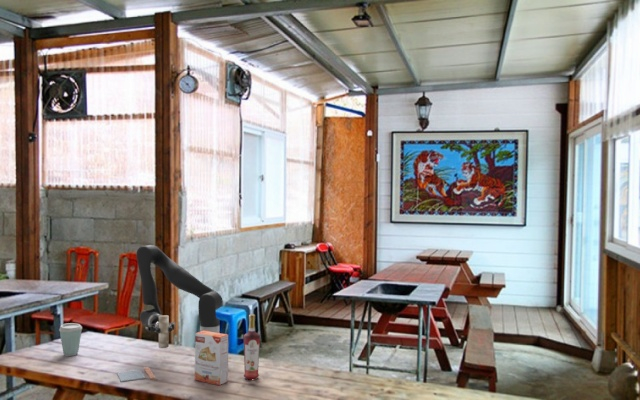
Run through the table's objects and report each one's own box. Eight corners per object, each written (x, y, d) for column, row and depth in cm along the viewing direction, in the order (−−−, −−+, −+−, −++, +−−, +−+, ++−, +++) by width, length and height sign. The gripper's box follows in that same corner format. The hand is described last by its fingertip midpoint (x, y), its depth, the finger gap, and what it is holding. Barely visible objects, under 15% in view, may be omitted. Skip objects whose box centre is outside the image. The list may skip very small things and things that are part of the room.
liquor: (244, 381, 231) (244, 317, 231) (241, 376, 238) (242, 313, 238) (260, 380, 233) (261, 316, 233) (258, 375, 240) (258, 313, 240)
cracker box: (193, 380, 232) (194, 332, 232) (203, 376, 237) (203, 329, 237) (219, 386, 225) (220, 336, 225) (228, 382, 230) (228, 333, 230)
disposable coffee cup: (86, 351, 273) (86, 322, 273) (74, 358, 262) (74, 327, 262) (66, 351, 274) (67, 322, 274) (54, 357, 264) (54, 326, 264)
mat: (140, 370, 244) (140, 369, 244) (144, 378, 233) (144, 377, 233) (117, 373, 239) (117, 372, 239) (120, 382, 229) (120, 380, 229)
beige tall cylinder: (167, 345, 246) (167, 314, 246) (169, 347, 242) (169, 316, 242) (157, 346, 244) (157, 315, 244) (159, 348, 240) (159, 317, 240)
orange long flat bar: (148, 368, 248) (148, 367, 248) (155, 378, 233) (155, 377, 233) (144, 369, 247) (144, 367, 247) (150, 379, 232) (150, 378, 232)
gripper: (141, 316, 253) (148, 323, 238) (172, 313, 259) (180, 320, 244) (141, 332, 253) (148, 340, 237) (172, 328, 259) (180, 336, 244)
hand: (164, 330), depth 241 cm, fingers closed on beige tall cylinder, 4 cm apart
